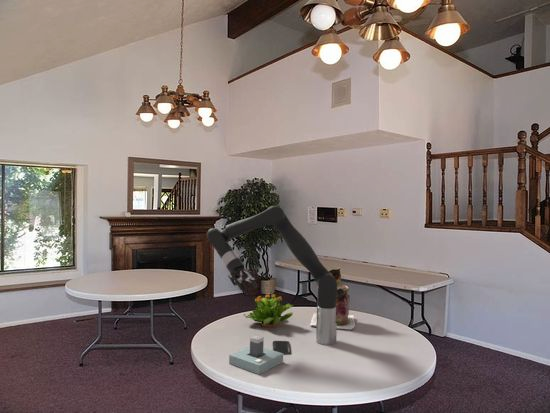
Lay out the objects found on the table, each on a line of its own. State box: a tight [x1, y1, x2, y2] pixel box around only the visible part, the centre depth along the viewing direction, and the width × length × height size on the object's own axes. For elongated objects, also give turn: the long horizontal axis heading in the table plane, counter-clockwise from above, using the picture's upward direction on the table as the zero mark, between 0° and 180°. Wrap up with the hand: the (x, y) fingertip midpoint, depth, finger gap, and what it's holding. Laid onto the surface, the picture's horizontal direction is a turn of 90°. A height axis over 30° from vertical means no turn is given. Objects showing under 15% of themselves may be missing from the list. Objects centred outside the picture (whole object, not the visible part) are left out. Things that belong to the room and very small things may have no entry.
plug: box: [249, 334, 265, 358], centre depth 159 cm, size 4×4×10 cm
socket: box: [228, 346, 284, 375], centre depth 159 cm, size 16×16×4 cm
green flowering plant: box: [243, 293, 294, 328], centre depth 212 cm, size 25×24×18 cm
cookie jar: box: [309, 266, 356, 331], centre depth 219 cm, size 25×25×32 cm
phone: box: [272, 340, 292, 355], centre depth 177 cm, size 8×1×15 cm
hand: (251, 289), depth 175 cm, fingers open, 8 cm apart
